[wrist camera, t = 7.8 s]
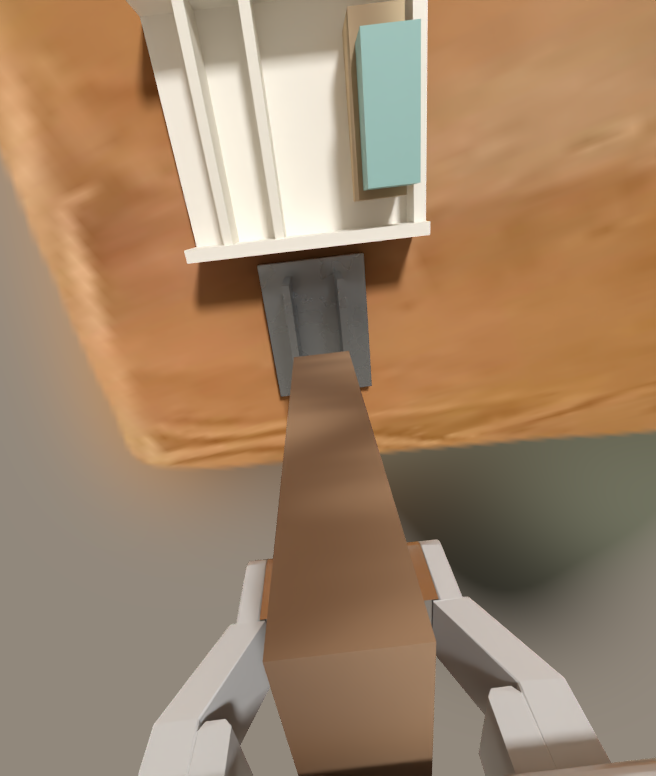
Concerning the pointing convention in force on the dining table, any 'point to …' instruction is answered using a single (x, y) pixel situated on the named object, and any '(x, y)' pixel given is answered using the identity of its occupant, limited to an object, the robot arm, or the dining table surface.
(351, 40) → the oak offcut
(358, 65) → the teal offcut
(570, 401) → the dining table surface
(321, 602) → the walnut board
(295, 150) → the rack
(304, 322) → the stand
